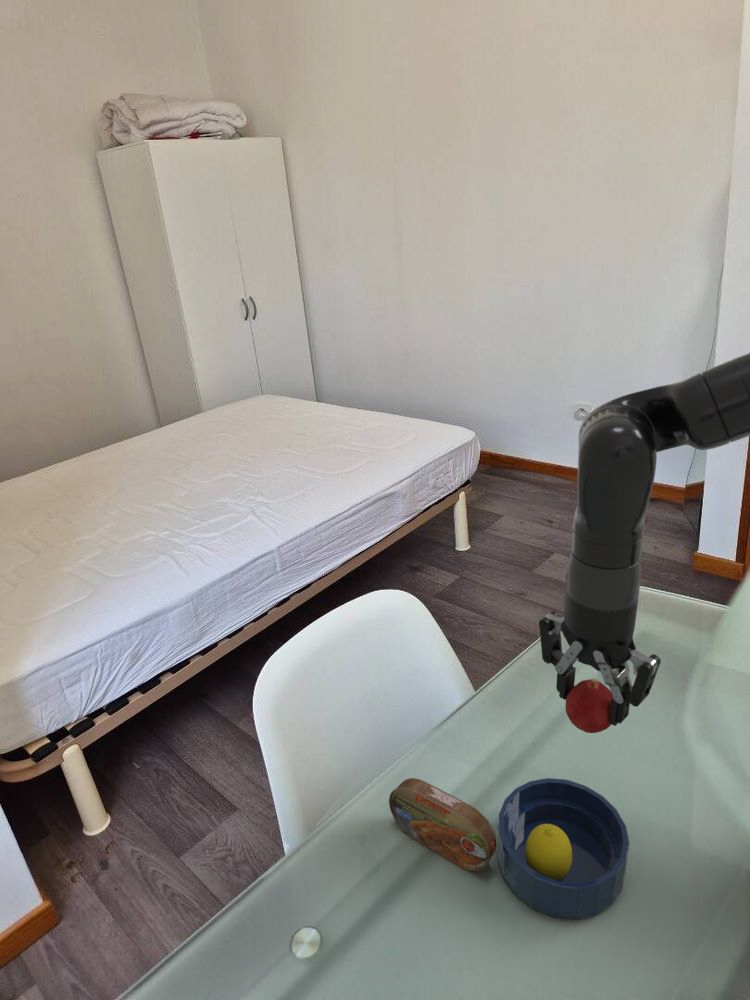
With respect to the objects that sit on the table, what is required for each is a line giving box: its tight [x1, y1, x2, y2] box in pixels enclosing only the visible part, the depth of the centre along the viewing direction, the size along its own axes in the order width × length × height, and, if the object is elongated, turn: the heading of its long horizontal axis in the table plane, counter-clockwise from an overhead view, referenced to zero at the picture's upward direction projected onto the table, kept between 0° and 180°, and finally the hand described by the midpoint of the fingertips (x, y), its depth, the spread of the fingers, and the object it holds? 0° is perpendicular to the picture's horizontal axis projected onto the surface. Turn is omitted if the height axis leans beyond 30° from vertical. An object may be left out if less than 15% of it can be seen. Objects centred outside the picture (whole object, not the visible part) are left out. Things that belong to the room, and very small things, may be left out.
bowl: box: [497, 777, 630, 920], centre depth 86 cm, size 15×15×6 cm
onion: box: [565, 678, 613, 734], centre depth 81 cm, size 6×6×8 cm
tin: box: [388, 777, 497, 872], centre depth 88 cm, size 15×3×8 cm, turn 53°
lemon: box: [525, 824, 572, 881], centre depth 83 cm, size 6×6×8 cm
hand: (590, 707), depth 81 cm, fingers closed on onion, 6 cm apart
